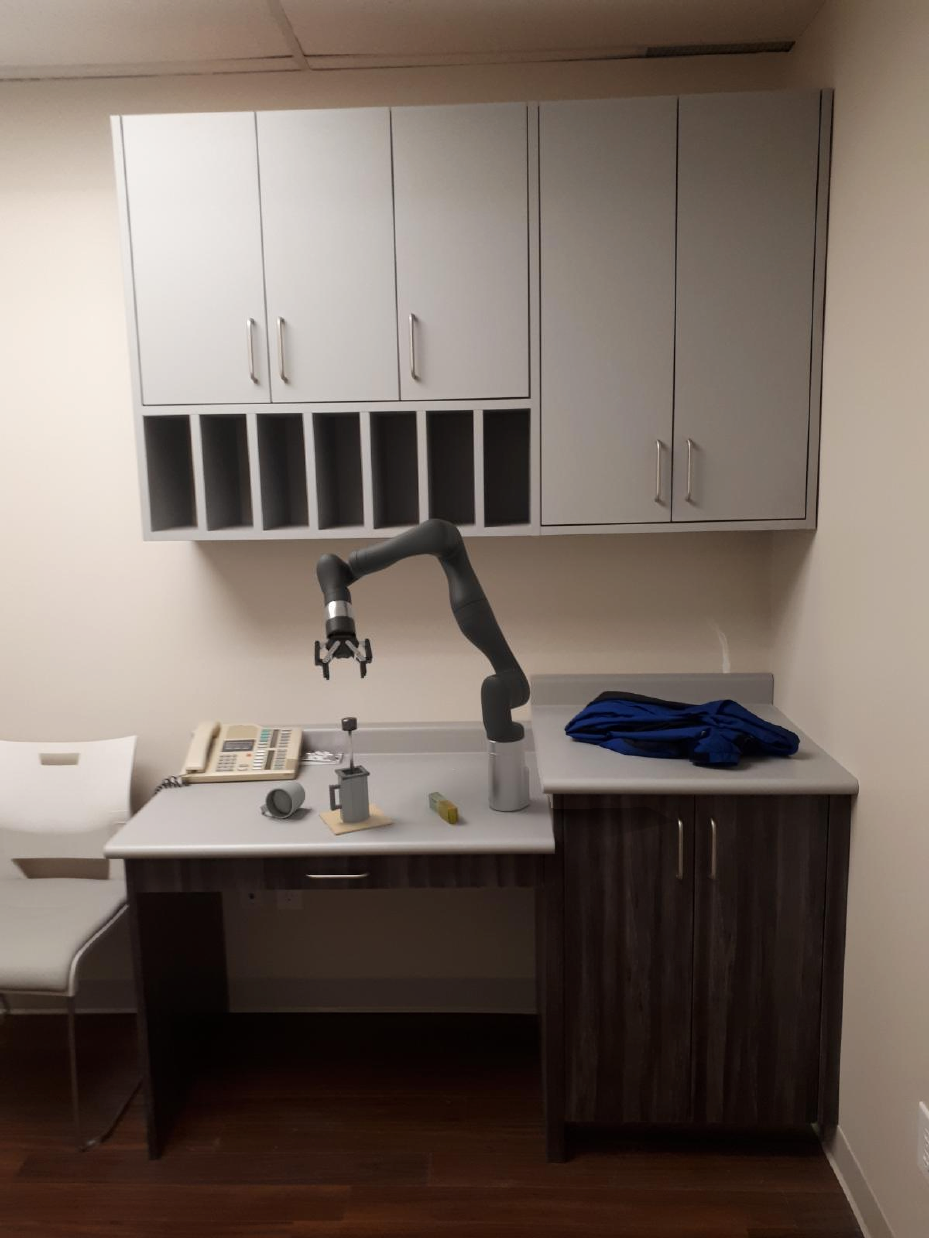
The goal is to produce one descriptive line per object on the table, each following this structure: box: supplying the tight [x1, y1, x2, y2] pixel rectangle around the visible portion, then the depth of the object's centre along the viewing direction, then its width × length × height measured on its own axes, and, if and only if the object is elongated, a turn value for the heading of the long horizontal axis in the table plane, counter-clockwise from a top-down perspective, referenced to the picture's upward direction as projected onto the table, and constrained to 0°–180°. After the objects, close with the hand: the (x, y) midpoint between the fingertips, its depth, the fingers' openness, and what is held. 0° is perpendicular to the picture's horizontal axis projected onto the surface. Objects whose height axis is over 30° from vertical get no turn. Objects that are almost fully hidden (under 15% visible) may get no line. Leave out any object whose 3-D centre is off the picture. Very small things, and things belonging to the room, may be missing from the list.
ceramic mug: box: [259, 780, 306, 819], centre depth 222 cm, size 11×8×8 cm
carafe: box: [318, 764, 393, 836], centre depth 215 cm, size 14×14×12 cm
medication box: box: [428, 791, 459, 825], centre depth 217 cm, size 12×3×4 cm, turn 25°
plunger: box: [340, 716, 358, 775], centre depth 213 cm, size 4×4×14 cm
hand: (345, 677), depth 221 cm, fingers open, 8 cm apart
